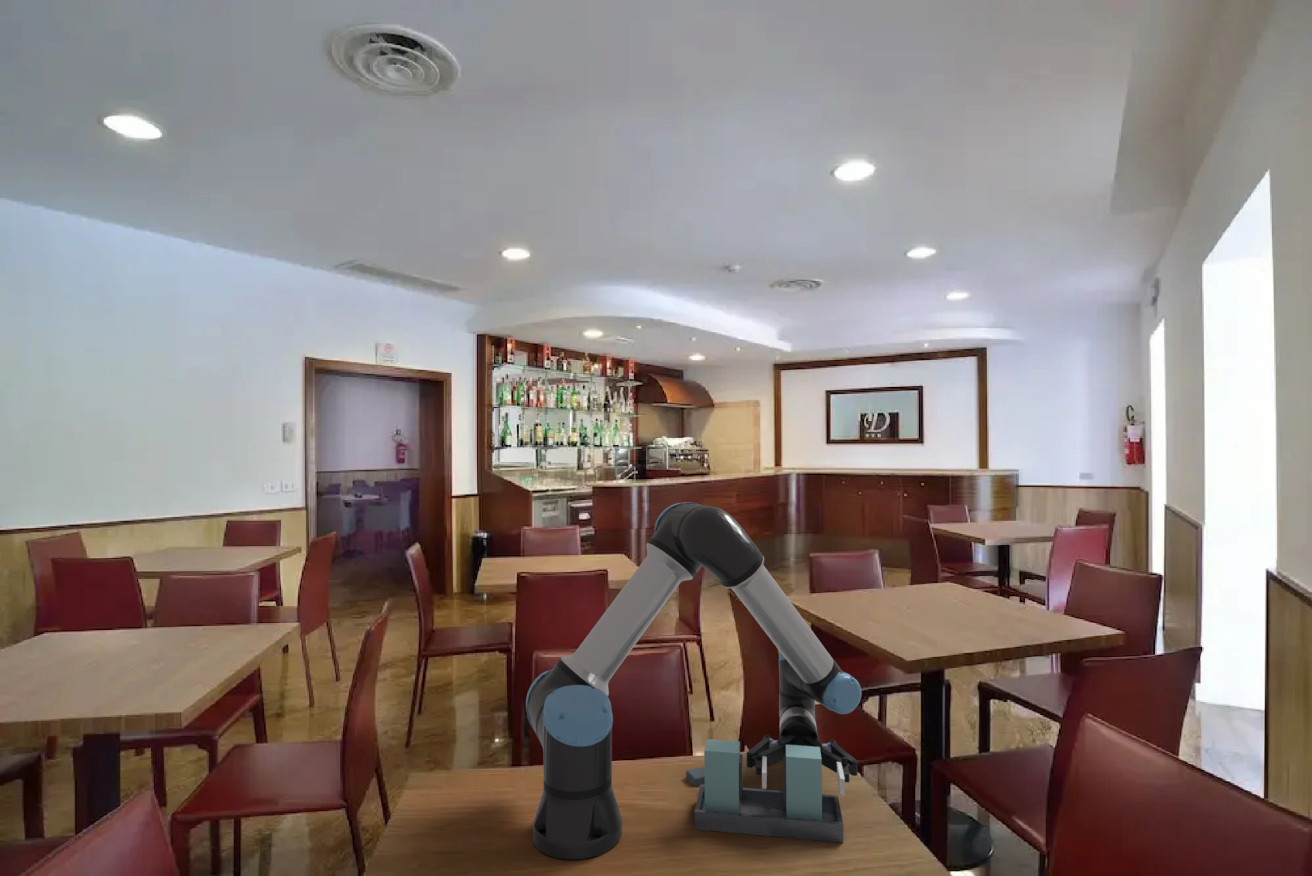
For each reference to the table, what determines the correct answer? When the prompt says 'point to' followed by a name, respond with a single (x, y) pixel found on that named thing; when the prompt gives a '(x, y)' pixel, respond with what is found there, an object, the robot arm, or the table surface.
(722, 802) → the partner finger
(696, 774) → the bracket
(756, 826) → the dark gray tray
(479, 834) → the table surface
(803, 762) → the finger
